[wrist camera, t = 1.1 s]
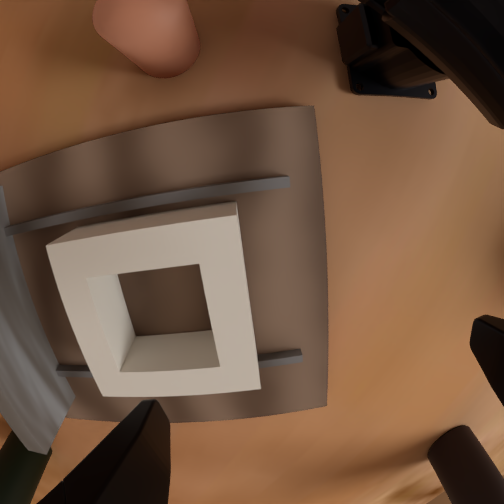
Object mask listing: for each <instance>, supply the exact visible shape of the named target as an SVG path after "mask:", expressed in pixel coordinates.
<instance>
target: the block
mask: <svg viewBox="0 0 504 504" xmlns="http://www.w3.org/2000/svg"><path fill="white" fill-rule="evenodd" d="M46 249H47V253H48V256H49V260H50V264H51V267H52V270H53V274H54V277H55V280H56V283H57V287H58V290H59V293H60V296H61V299H62V301H63V304H64V307H65V310H66V313H67V316H68V318H69V321H70V324H71V326H72V329H73V331H74V334H75V336H76V339H77V341H78V344H79V346H80V348H81V351H82V353H83V355H84V358H85V360H86V362H87V364H88V367H89V369H90V371H91V373H92V375H93V377H94V379H95V382H96V384H97V386H98V388H99V390H100V392H101V394H102V396H107V397H165V396H189V395H205V394H218V393H229V392H239V391H248V390H256V389H261V385H260V376H259V367H258V359H257V350H256V343H255V336H254V329H253V321H252V314H251V307H250V300H249V292H248V285H247V278H246V270H245V263H244V256H243V248H242V241H241V233H240V226H239V218H238V210H237V203H236V201H233V202H225V203H218V204H211V205H204V206H197V207H190V208H184V209H177V210H171V211H164V212H158V213H152V214H146V215H140V216H134V217H128V218H123V219H117V220H112V221H106V222H101V223H95V224H90V225H85V226H80V227H77V228H75V229H73V230H72V231H70V232H68V233H66V234H65V235H63V236H61V237H59V238H58V239H56V240H54V241H53V242H51V243H49V244H48V245H46ZM192 264H199V265H200V271H201V276H202V281H203V286H204V292H205V297H206V302H207V307H208V312H209V317H210V321H211V326H212V330H207V331H197V332H186V333H175V334H163V335H150V336H136V335H135V332H134V329H133V326H132V322H131V319H130V316H129V313H128V310H127V306H126V303H125V300H124V296H123V293H122V289H121V285H120V282H119V278H118V274H121V273H129V272H137V271H145V270H153V269H161V268H169V267H177V266H185V265H192Z"/></svg>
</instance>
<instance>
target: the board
mask: <svg viewBox="0 0 504 504" xmlns="http://www.w3.org/2000/svg"><path fill="white" fill-rule="evenodd" d="M233 201H236V203H237V210H238V218H239V226H240V233H241V241H242V248H243V256H244V263H245V270H246V278H247V285H248V292H249V300H250V307H251V314H252V321H253V329H254V336H255V343H256V350H257V359H258V367H259V376H260V385H261V389H256V390H248V391H239V392H229V393H218V394H205V395H189V396H165V397H107V396H102V394H101V392H100V390H99V388H98V386H97V384H96V382H95V379H94V377H93V375H92V373H91V371H90V369H89V367H88V364H87V362H86V360H85V358H84V355H83V353H82V351H81V348H80V346H79V344H78V341H77V339H76V336H75V334H74V331H73V329H72V326H71V324H70V321H69V318H68V316H67V313H66V310H65V307H64V304H63V301H62V299H61V296H60V293H59V290H58V287H57V283H56V280H55V277H54V274H53V270H52V267H51V264H50V260H49V256H48V253H47V249H46V245H48V244H49V243H51V242H53V241H54V240H56V239H58V238H59V237H61V236H63V235H65V234H66V233H68V232H70V231H72V230H73V229H75V228H77V227H80V226H85V225H90V224H95V223H101V222H106V221H112V220H117V219H123V218H128V217H134V216H140V215H146V214H152V213H158V212H164V211H171V210H177V209H184V208H190V207H197V206H204V205H211V204H218V203H225V202H233ZM118 278H119V282H120V285H121V289H122V293H123V296H124V300H125V303H126V306H127V310H128V313H129V316H130V319H131V322H132V326H133V329H134V332H135V335H136V336H150V335H163V334H175V333H186V332H197V331H207V330H212V326H211V321H210V317H209V312H208V307H207V302H206V297H205V292H204V286H203V281H202V276H201V271H200V265H199V264H192V265H185V266H177V267H169V268H161V269H153V270H145V271H137V272H129V273H121V274H118ZM327 387H328V278H327V252H326V232H325V215H324V200H323V187H322V175H321V164H320V154H319V144H318V134H317V126H316V117H315V109H314V106H295V107H281V108H269V109H258V110H248V111H239V112H231V113H224V114H216V115H210V116H203V117H197V118H191V119H185V120H179V121H174V122H168V123H163V124H158V125H153V126H149V127H144V128H140V129H135V130H131V131H127V132H122V133H118V134H114V135H110V136H107V137H103V138H99V139H95V140H92V141H88V142H85V143H81V144H78V145H75V146H71V147H68V148H65V149H62V150H59V151H56V152H53V153H50V154H47V155H44V156H41V157H38V158H35V159H32V160H30V161H27V162H24V163H21V164H19V165H16V166H14V167H11V168H9V169H6V170H4V171H1V172H0V413H1V414H2V416H3V417H4V419H5V420H6V422H7V423H8V424H9V426H10V427H11V429H12V430H13V431H14V433H15V434H16V435H17V437H18V438H19V439H20V441H21V442H22V443H23V444H24V446H25V447H26V448H27V449H28V450H29V451H33V452H37V453H41V454H46V455H47V453H48V451H49V449H50V447H51V444H52V442H53V440H54V438H55V436H56V434H57V432H58V430H59V428H60V426H61V424H62V422H63V420H64V418H65V417H67V418H75V419H85V420H97V421H112V422H121V421H122V420H123V419H124V418H125V417H126V416H127V415H128V414H129V413H130V412H131V411H132V410H133V409H134V408H135V407H136V406H137V405H138V404H139V403H140V402H141V401H142V400H147V399H156V400H158V401H159V403H160V404H161V406H162V408H163V410H164V412H165V413H166V415H167V417H168V419H169V422H170V423H182V422H205V421H221V420H233V419H243V418H253V417H261V416H269V415H277V414H283V413H290V412H296V411H302V410H308V409H313V408H319V407H324V406H327Z"/></svg>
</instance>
